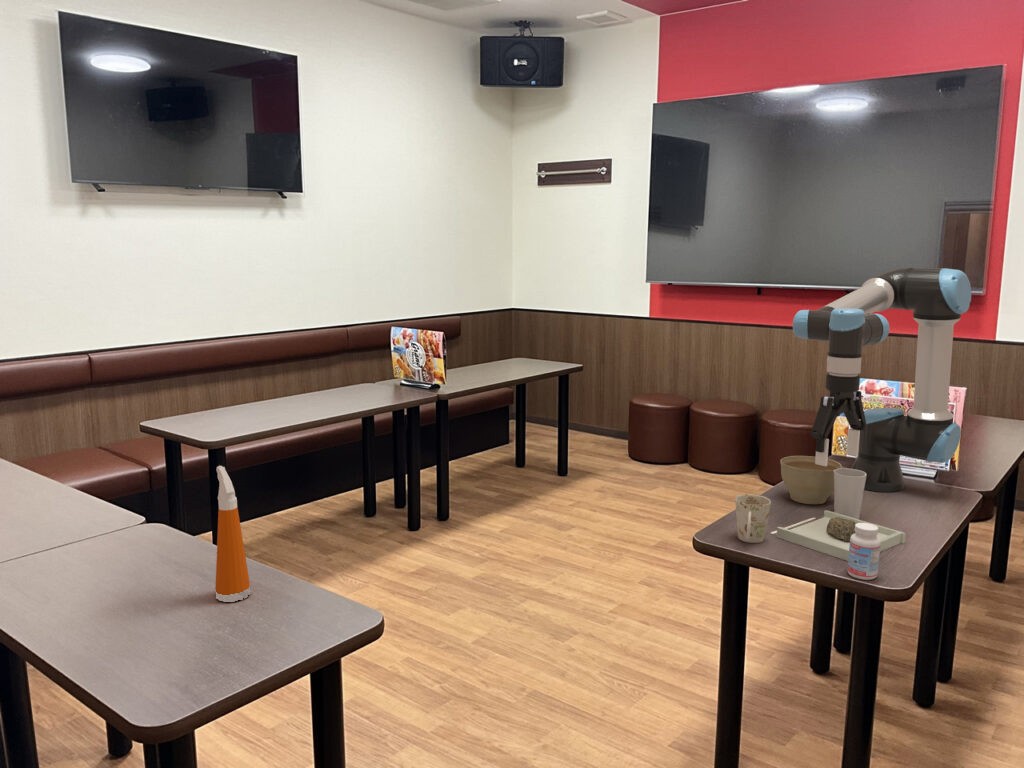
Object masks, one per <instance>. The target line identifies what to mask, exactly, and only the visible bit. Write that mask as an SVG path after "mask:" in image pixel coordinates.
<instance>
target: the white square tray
mask: <svg viewBox="0 0 1024 768" xmlns="http://www.w3.org/2000/svg"><path fill="white" fill-rule="evenodd" d="M834 517H840V518H843V519H847V520H853V521H855V522H857V523H869V524H873V525H875V526H877V527H878V535H877V537H878V538H879V539H880V553H882V552H884V551H886V550H889V549H890V548H893V547H896V546H897V545H900V544H905V542H906V532H903V531H900V530H896V529H892V528H890V527H887V526H883V525H879V524H877V523H876V524H875V523H872V522H868V521H866V520H862V519H860V518H859V519H855V518H852V517H849V516H845V515H842V514H838V513H835V512H834V511H830V510H829V509H828V510H823V517H821V518H819V519H815V520H812V521H809V522H806V523H803V524H801V525H798V526H795V527H792V528H790V529H785V527H781V526H777V527H776V531H777V533H776V538H778V539H781V540H783V541H787V542H790V543H793V544H796V545H800V546H802V547H804V548H808V549H811V550H814V551H816V552H820V553H822V554H825V555H829V556H832V557H834V558H838V559H841V560H844V561H847V562H848V559H849V547H850V542H847V541H844V540H842V539H839V538H837V537H835V536H833V535H832V534H831V533H827V532H826V530H827V525H828V523H829V520H830V519H831V518H834Z"/></svg>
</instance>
